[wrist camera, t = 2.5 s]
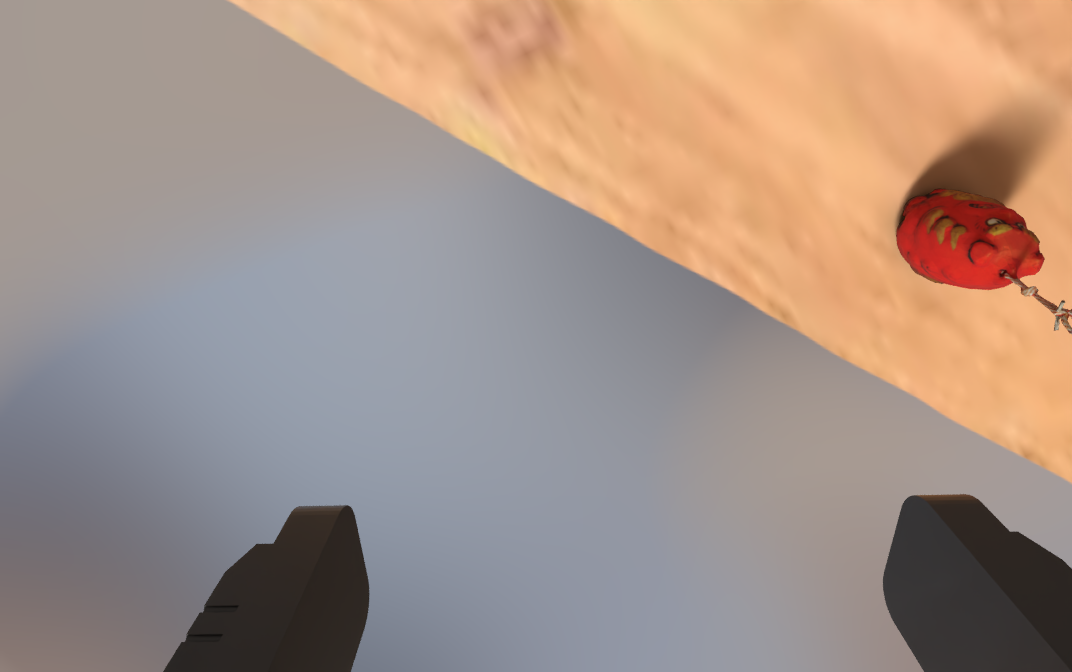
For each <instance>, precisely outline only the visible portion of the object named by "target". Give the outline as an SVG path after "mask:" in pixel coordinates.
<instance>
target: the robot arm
mask: <svg viewBox="0 0 1072 672" xmlns="http://www.w3.org/2000/svg"><path fill="white" fill-rule="evenodd" d="M883 590H884V596H885V601H886V605H887V607H888V610H889V613H890V615H891V618H892V619H893V621H894V623H895V625H896V626H897V628H898V630H899V631H900V633H901V635H902V636H903V638H904V639H905V641H906V642H907V644H908V646H909V648H910V649H911V651H912V652H913V654H914V656H915V657H916V659H917V660H918V662H919V664H920V666H921V667H922V669H923V670H924V672H1072V569H1071V568H1070V567H1069V566H1068V565H1067V564H1066V563H1065V562H1064V561H1063V560H1062V559H1060V558H1059V557H1057V556H1055V555H1054V554H1052V553H1051V552H1049V551H1048V550H1046V549H1044V548H1043V547H1041V546H1040V545H1038V544H1037V543H1035V542H1033V541H1032V540H1030V539H1029V538H1027V537H1026V536H1024V535H1022V534H1021V533H1019V532H1010V531H1009V530H1008V529H1007V528H1006V527H1005V526H1004V525H1003V524H1002V523H1001V522H1000V521H999V520H998V519H997V518H996V517H995V516H994V515H993V514H992V513H991V512H990V511H989V510H988V509H987V508H986V507H985V506H984V505H983V504H982V503H981V502H980V501H979V500H978V499H976V498H975V497H973V496H970V495H966V494H960V495H914V496H910V497H908V498H907V499H906V500H905V501H904V503H903V505H902V508H901V512H900V515H899V519H898V523H897V526H896V530H895V534H894V537H893V542H892V545H891V549H890V552H889V556H888V560H887V564H886V568H885V571H884V576H883ZM368 608H369V582H368V576H367V572H366V567H365V562H364V557H363V553H362V548H361V543H360V538H359V533H358V528H357V524H356V519H355V515H354V512H353V510H352V508H351V507H350V506H348V505H344V506H299V507H296V508H295V509H294V510H293V511H292V512H291V514H290V515H289V517H288V519H287V521H286V522H285V524H284V526H283V528H282V530H281V532H280V533H279V535H278V537H277V539H276V540H275V542H274V544H256V545H255V546H254V547H253V548H252V549H251V550H249V551H248V552H247V553H246V554H245V555H244V556H243V557H242V558H241V559H239V560H238V561H237V562H236V563H235V564H234V565H233V566H232V567H230V568H229V569H228V570H227V571H226V572H225V573H224V575H223V577H222V578H221V580H220V581H219V583H218V584H217V586H216V588H215V589H214V591H213V593H212V594H211V596H210V597H209V599H208V601H207V602H206V604H205V605H204V612H203V613H199V615H198V617H197V618H196V620H195V621H194V623H193V625H192V626H191V628H190V629H189V631H188V633H187V634H186V635H187V638H186V641H185V642H181V644H180V646H179V647H178V649H177V650H176V652H175V654H174V655H173V657H172V659H171V660H170V662H169V663H168V665H167V666H166V668H165V670H164V671H163V672H351V669H352V666H353V662H354V660H355V656H356V653H357V650H358V647H359V644H360V641H361V637H362V634H363V631H364V628H365V624H366V620H367V614H368Z"/></svg>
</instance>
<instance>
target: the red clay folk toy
mask: <svg viewBox="0 0 1072 672" xmlns="http://www.w3.org/2000/svg"><path fill="white" fill-rule="evenodd" d="M902 216H904V217H905V219H904V220H903V221H902V222H901V223H900V224H899V226H898V228H897V234H896V238H897V245H898V248H899V251H900V253H901V255H902V256H903V257H904V259H905V260H906V261H907V262H908V263H909V264H910V266H911V268H912V270H913V271H914V272H915V273H917V274H919V275H921V276H923V277H925V278H926V279H928V280H930V281H933V282H935V283H941V284H943V283H945V284H949V285H953V286H958V287H963V288H968V289H982V290H991V289H997V288H1001V287H1005V286H1007V285H1009V284H1011V283H1013V282H1014V283H1015V284H1017V285H1018V286H1020V287H1021V294H1022V295H1024V296H1034V297H1035V298H1036V299H1037V300H1038V301H1039V302H1041V303H1042V304H1043V305H1044V306H1045V307H1047V308H1048V309H1049V310H1050V311H1051V312H1052V313H1053V314H1054V315H1055V316H1056V321H1055V327H1054V330H1059V324H1060V323H1059V319H1060V318H1061V321H1062V324H1063V325H1064V326H1065V327H1066V329H1067V330H1068V332H1069V333H1071V334H1072V327H1071V326H1070V325H1069V323H1068V321H1067V320H1068V317H1069V315H1070V317H1071V318H1072V309H1071V310H1068V309H1064V308H1062V307H1063V305H1064V303H1065V301H1061V303H1060V305H1059V307H1057V306H1056V305H1055V304H1053V303H1051V302H1049V301H1047V300H1045V299H1044V298H1042V297H1041V296H1039V295H1038V294H1037V292H1038V289H1037V288H1036V287H1035V286H1033V287H1029V288H1028V287H1027V286H1026V285H1025V284H1023V283H1022V282H1021V281H1020V280H1019V279H1020V278H1022V277H1024V276H1028V275H1035V274H1036V273H1037V272H1039V271H1040V269H1041V267H1042V264H1043V262H1044V257H1043V255H1042V253H1040V251H1039V243H1040V241H1039V240H1038V238H1037V237H1036V235H1035V234H1034V233H1033V232H1032V231H1030V230H1028V229H1027V227H1026V222H1025V220H1024V218H1023V217H1021V216H1020V215H1019V214H1017V213H1016V211H1014V210H1012V209H1009V208H1006V207H1005V206H1004V204H1002V203H1000V202H999V201H997V200H995V199H992V198H986V197H983V196H980V195H972V194H970V193H965V192H961V191H956V190H946V189H935V190H934V191H933V192H931V193H930V194H928V195H925V196H917V197H914V198H912V199H910V200H909V201H908V202H907V203H906V205H905V207H904V213H903V215H902Z"/></svg>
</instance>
